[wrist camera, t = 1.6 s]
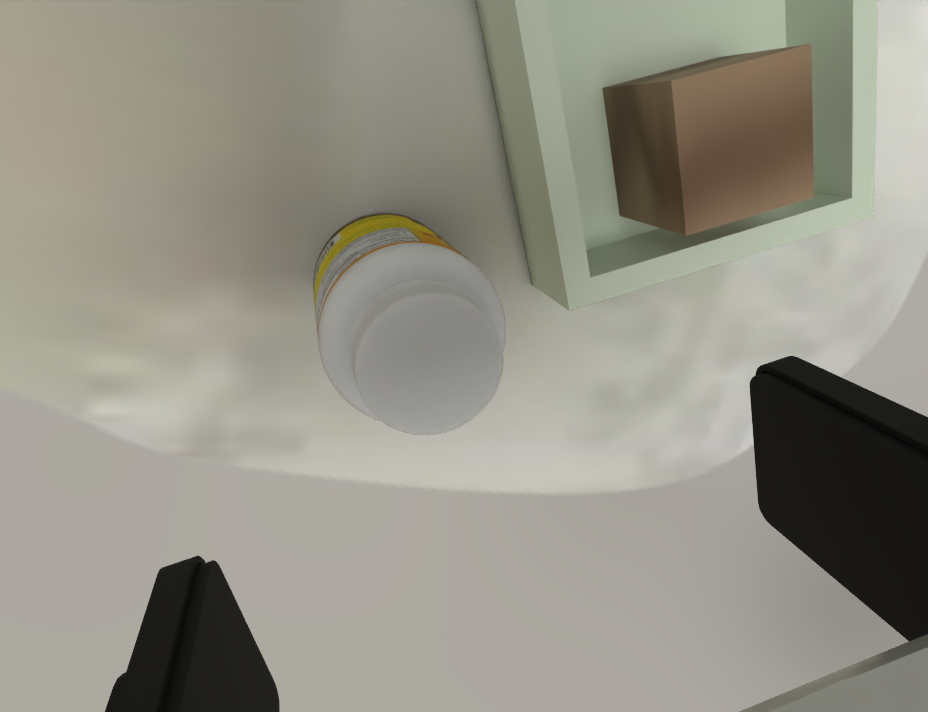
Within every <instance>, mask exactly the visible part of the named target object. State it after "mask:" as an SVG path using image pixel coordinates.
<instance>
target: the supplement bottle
mask: <svg viewBox="0 0 928 712" xmlns="http://www.w3.org/2000/svg"><path fill="white" fill-rule="evenodd" d="M313 289H314V302H315V314H316V322H317V333H318V342H319V350H320V356H321V359H322V362H323V366H324V368H325V371H326V373H327V375H328V377H329V379H330V381H331V383H332V384H333V386H334V387H335V389H336V390H337V391H338V392H339V394H340V395H341V396H342V397H343V398H344V399H345V400H346V401H347V402H348V403H349V404H350V405H352V406H353V407H354V408H356V409H357V410H359V411H360V412H362V413H364V414H365V415H367V416H370V417H372V418H374V419H376V420H379V421H382V422H383V423H385V424H387V425H388V426H390V427H392V428H394V429H397V430H399V431H402V432H405V433H410V434H415V435H431V434H439V433H444V432H447V431H450V430H453V429H455V428H458V427H460V426H461V425H463V424H465V423H467V422H468V421H470V420H471V419H473V418H474V417H475V416H476V415H477V414H478V413H480V412H481V411H482V410H483V409H484V407H485V406H486V405H487V404H488V402H489V401H490V400H491V398H492V397H493V395H494V393H495V391H496V390H497V387H498V385H499V382H500V378H501V374H502V370H503V351H504V345H505V336H506V327H505V317H504V312H503V308H502V305H501V302H500V299H499V297H498V295H497V292H496V291H495V289H494V287H493V285H492V284H491V282H490V281H489V280H488V278H487V277H486V276H485V275H484V274H483V273H482V272H481V270H480V269H479V268H478V267H477V266H476V265H474V264H473V263H472V262H471V261H470V260H468V259H467V258H466V257H464V256H463V255H462V254H461V253H459V252H458V251H457V250H455V249H454V248H453V247H452V246H450V245H449V244H448V243H446V242H445V241H444V240H443V239H441V238H440V237H439V236H438V235H436V234H435V233H434V232H433V231H431V230H430V229H429V228H427V227H426V226H424V225H423V224H421V223H419V222H418V221H416V220H414V219H411V218H409V217H406V216H403V215H398V214H391V213H377V214H371V215H366V216H362V217H360V218H357V219H355V220H353V221H351V222H349V223H347V224H346V225H344V226H343V227H341V228H340V229H339V230H338V231H337V232H335V233H334V234H333V235H332V237H331V238H330V239H329V240H328V241H327V243H326V244H325V246H324V247H323V249H322V251H321V253H320V255H319V257H318V260H317V263H316V267H315V272H314V283H313Z"/></svg>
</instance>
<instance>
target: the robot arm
mask: <svg viewBox="0 0 928 712" xmlns="http://www.w3.org/2000/svg"><path fill="white" fill-rule="evenodd" d="M750 397H751V411H752V424H753V438H754V450H755V451H754V452H755V464H756V479H757V492H758V504H759V508H760V510H761V513H762V514H763V516H764V518H765V519H766V521H767V522H768V523H769V524H770V525H772V526H773V527H774V528H775V529H776V530H778V531H779V532H780V533H781V534H782V535H783V536H785V537H786V538H787V539H788V540H789V541H791V542H792V543H793V544H794V545H795V546H796V547H798V548H799V549H800V550H801V551H803V552H804V553H805V554H806V555H807V556H808V557H810V558H811V559H812V560H813V561H814V562H816V563H817V564H818V565H819V566H820V567H821V568H823V569H824V570H825V571H826V572H827V573H829V574H830V575H831V576H832V577H833V578H835V579H836V580H837V581H838V582H839V583H841V584H842V585H843V586H844V587H845V588H846V589H848V590H849V591H850V592H851V593H852V594H854V595H855V596H856V597H857V598H858V599H859V600H861V601H862V602H863V603H864V604H865V605H867V606H868V607H869V608H870V609H871V610H873V611H874V612H875V613H876V614H877V615H878V616H880V617H881V618H882V619H883V620H885V621H886V622H887V623H888V624H889V625H890V626H892V627H893V628H894V629H895V630H896V631H897V632H899V633H900V634H901V635H902V636H903V637H905V638H906V639H907V640H908V641H909V642H907V643H905V644H902V645H900V646H897V647H895V648H892V649H890V650H888V651H885V652H883V653H880V654H878V655H875V656H873V657H871V658H868V659H866V660H863V661H861V662H858V663H856V664H853V665H851V666H848V667H846V668H844V669H841V670H839V671H837V672H834V673H831V674H829V675H827V676H824V677H822V678H819V679H817V680H814V681H812V682H809V683H807V684H805V685H802V686H800V687H797V688H795V689H793V690H790V691H788V692H785V693H783V694H781V695H778V696H776V697H773V698H771V699H768V700H766V701H764V702H761V703H759V704H757V705H754V706H752V707H749V708H747V709H744V710H742V711H740V712H928V417H926V416H924V415H922V414H919V413H917V412H915V411H913V410H910V409H908V408H906V407H904V406H902V405H900V404H897V403H895V402H893V401H891V400H889V399H887V398H885V397H882V396H880V395H878V394H876V393H874V392H872V391H869V390H867V389H865V388H863V387H861V386H859V385H856V384H854V383H852V382H850V381H848V380H845V379H843V378H841V377H839V376H837V375H835V374H832V373H830V372H828V371H826V370H824V369H822V368H819V367H817V366H815V365H813V364H811V363H809V362H806V361H804V360H802V359H800V358H798V357H794V356H789V357H785V358H782V359H779V360H776V361H773V362H770V363H767V364H764V365H761V366H760V367H759V368H758V369H757V371H756V376H755V377H753V378H752V379H751V381H750ZM105 712H279V697H278V692H277V688H276V685H275V682H274V680H273V678H272V676H271V674H270V671H269V670H268V667H267V665H266V663H265V661H264V659H263V657H262V655H261V653H260V650H259V648H258V646H257V644H256V642H255V640H254V638H253V636H252V634H251V631H250V629H249V627H248V625H247V623H246V621H245V619H244V617H243V615H242V612H241V610H240V609H239V606H238V604H237V602H236V600H235V598H234V596H233V593H232V591H231V589H230V587H229V585H228V583H227V581H226V579H225V577H224V574H223V572H222V570H221V568H220V566H219V565H218V563H217V562H216V561H214V560H213V561H210V562H207V563H205V561H204V560H203V559H202V558H201V557H200V556H196V557H193V558H190V559H187V560H184V561H181V562H178V563H175V564H172V565H169V566H166V567H163V568H161V569H160V570H159V572H158V575H157V578H156V581H155V584H154V587H153V590H152V593H151V596H150V599H149V603H148V606H147V609H146V612H145V615H144V618H143V622H142V625H141V628H140V631H139V634H138V637H137V640H136V643H135V647H134V650H133V653H132V656H131V659H130V662H129V665H128V669H127V672H126V673H123V674H122V675H121V676H120V677H119V678H118V679H117V681H116V683H115V685H114V687H113V689H112V692H111V695H110V698H109V701H108V704H107V707H106V710H105Z"/></svg>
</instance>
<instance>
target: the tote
mask: <svg viewBox="0 0 928 712" xmlns="http://www.w3.org/2000/svg"><path fill="white" fill-rule="evenodd" d="M476 5H477V10H478V15H479V20H480V25H481V30H482V35H483V40H484V45H485V50H486V55H487V60H488V65H489V70H490V75H491V81H492V86H493V91H494V96H495V101H496V106H497V111H498V116H499V121H500V126H501V131H502V136H503V141H504V146H505V151H506V157H507V162H508V167H509V172H510V177H511V182H512V187H513V192H514V197H515V202H516V207H517V212H518V217H519V222H520V227H521V232H522V238H523V243H524V248H525V253H526V258H527V263H528V268H529V273H530V278H531V283H532V285H533V286H535V287H536V288H538V289H539V290H541V291H542V292H543V293H545V294H546V295H548V296H549V297H550V298H552V299H553V300H555V301H556V302H558V303H559V304H560V305H562V306H563V307H565V308H566V309H567V310H569V311H571V310H574V309H577V308H581V307H584V306H587V305H590V304H594V303H597V302H600V301H603V300H606V299H610V298H613V297H616V296H619V295H623V294H626V293H629V292H632V291H635V290H639V289H642V288H645V287H648V286H651V285H655V284H658V283H661V282H664V281H668V280H671V279H674V278H677V277H680V276H684V275H687V274H690V273H693V272H696V271H700V270H703V269H706V268H709V267H713V266H716V265H719V264H722V263H725V262H729V261H732V260H735V259H738V258H742V257H745V256H748V255H751V254H754V253H758V252H761V251H764V250H767V249H770V248H774V247H777V246H780V245H783V244H787V243H790V242H793V241H796V240H799V239H803V238H806V237H809V236H812V235H816V234H819V233H822V232H825V231H828V230H832V229H835V228H838V227H841V226H844V225H848V224H851V223H854V222H857V221H861V220H864V219H867V218H870V217H873V216H874V186H875V133H876V79H877V25H878V0H476ZM807 44H811V50H812V107H813V164H814V198H810V199H807V200H804V201H801V202H797V203H794V204H791V205H787V206H784V207H781V208H777V209H774V210H771V211H767V212H764V213H761V214H757V215H754V216H751V217H748V218H744V219H741V220H738V221H734V222H731V223H728V224H724V225H721V226H718V227H714V228H711V229H708V230H704V231H701V232H698V233H695V234H691V235H688V236H685V235H681V234H678V233H675V232H671V231H668V230H665V229H661V228H658V227H655V226H651V225H648V224H645V223H642V222H638V221H635V220H632V219H628V218H625V217H622V216H620V215H619V207H618V200H617V192H616V185H615V178H614V170H613V163H612V156H611V148H610V141H609V134H608V126H607V119H606V111H605V104H604V97H603V89H602V88H604V87H607V86H611V85H615V84H619V83H623V82H626V81H630V80H634V79H638V78H642V77H645V76H649V75H653V74H657V73H661V72H664V71H668V70H672V69H676V68H680V67H684V66H687V65H691V64H695V63H699V62H703V61H706V60H710V59H714V58H718V57H724V56H731V55H738V54H744V53H751V52H758V51H765V50H772V49H779V48H786V47H793V46H800V45H807Z"/></svg>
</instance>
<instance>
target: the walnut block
mask: <svg viewBox="0 0 928 712" xmlns="http://www.w3.org/2000/svg"><path fill="white" fill-rule="evenodd" d="M602 89H603V97H604V104H605V111H606V119H607V126H608V134H609V141H610V148H611V156H612V163H613V170H614V178H615V185H616V192H617V200H618V207H619V215H620V216H622V217H625V218H628V219H632V220H635V221H638V222H642V223H645V224H648V225H651V226H655V227H658V228H661V229H665V230H668V231H671V232H675V233H678V234H681V235H685V236H688V235H691V234H695V233H698V232H701V231H704V230H708V229H711V228H714V227H718V226H721V225H724V224H728V223H731V222H734V221H738V220H741V219H744V218H748V217H751V216H754V215H757V214H761V213H764V212H767V211H771V210H774V209H777V208H781V207H784V206H787V205H791V204H794V203H797V202H801V201H804V200H807V199H810V198H814V164H813V107H812V50H811V44H807V45H800V46H793V47H786V48H779V49H772V50H765V51H758V52H751V53H744V54H738V55H731V56H724V57H718V58H714V59H710V60H706V61H703V62H699V63H695V64H691V65H687V66H684V67H680V68H676V69H672V70H668V71H664V72H661V73H657V74H653V75H649V76H645V77H642V78H638V79H634V80H630V81H626V82H623V83H619V84H615V85H611V86H607V87H604V88H602Z"/></svg>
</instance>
